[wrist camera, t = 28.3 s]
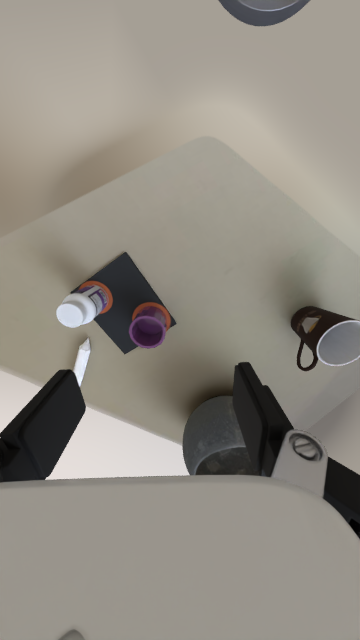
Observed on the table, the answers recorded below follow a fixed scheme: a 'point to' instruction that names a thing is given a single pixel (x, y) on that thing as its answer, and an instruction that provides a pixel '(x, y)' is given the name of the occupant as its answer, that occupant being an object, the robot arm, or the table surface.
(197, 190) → the table surface
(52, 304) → the table surface
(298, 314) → the coffee mug
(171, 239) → the table surface
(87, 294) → the pill bottle
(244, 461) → the bowl
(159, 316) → the cup
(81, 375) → the white pencil
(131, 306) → the placemat
